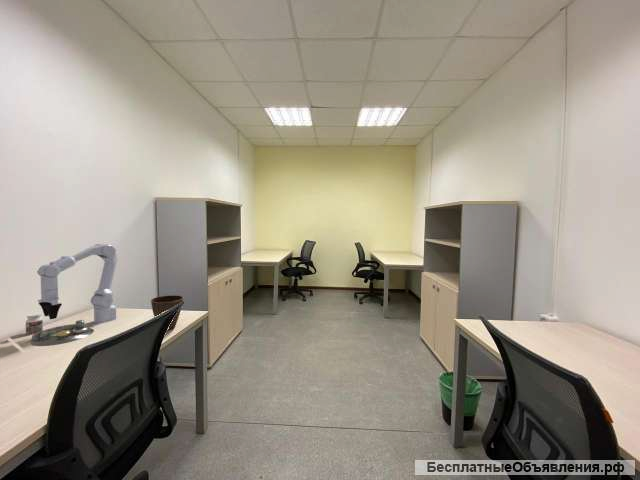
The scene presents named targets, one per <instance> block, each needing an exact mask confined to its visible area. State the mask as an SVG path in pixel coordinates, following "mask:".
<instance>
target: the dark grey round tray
mask: <svg viewBox="0 0 640 480" xmlns="http://www.w3.org/2000/svg"><path fill="white" fill-rule="evenodd" d="M75 328H76V323H71V324H63V325H59V326H55V327H51V328H47V329H43V331H40V332H38V333H36V334H31V341H30V345H32V346H35V347H49V346H51V347H52V346H57V345H64V344H68V343H73V342H75V341H78V340H82V339H85V338H86V337H89V336H90V335H92V334H93V333H94V331H95V330H94V329H93V328H91V327H88V331H87V332H85V333H81V334H73V329H75Z"/></svg>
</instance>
